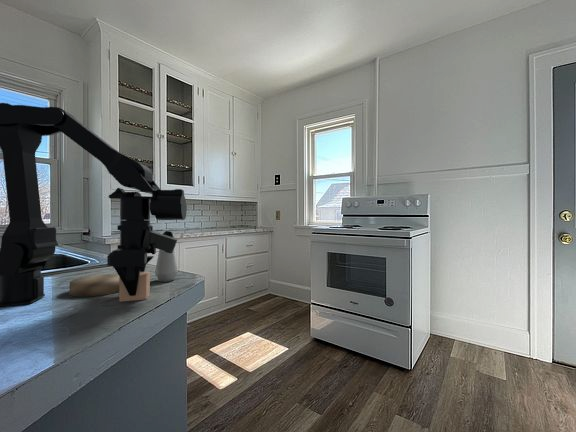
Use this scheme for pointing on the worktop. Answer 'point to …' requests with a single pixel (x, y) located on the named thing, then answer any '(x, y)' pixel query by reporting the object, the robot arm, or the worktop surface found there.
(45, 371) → the worktop surface
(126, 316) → the worktop surface
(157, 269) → the salt shaker
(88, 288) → the walnut base
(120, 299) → the terracotta block
